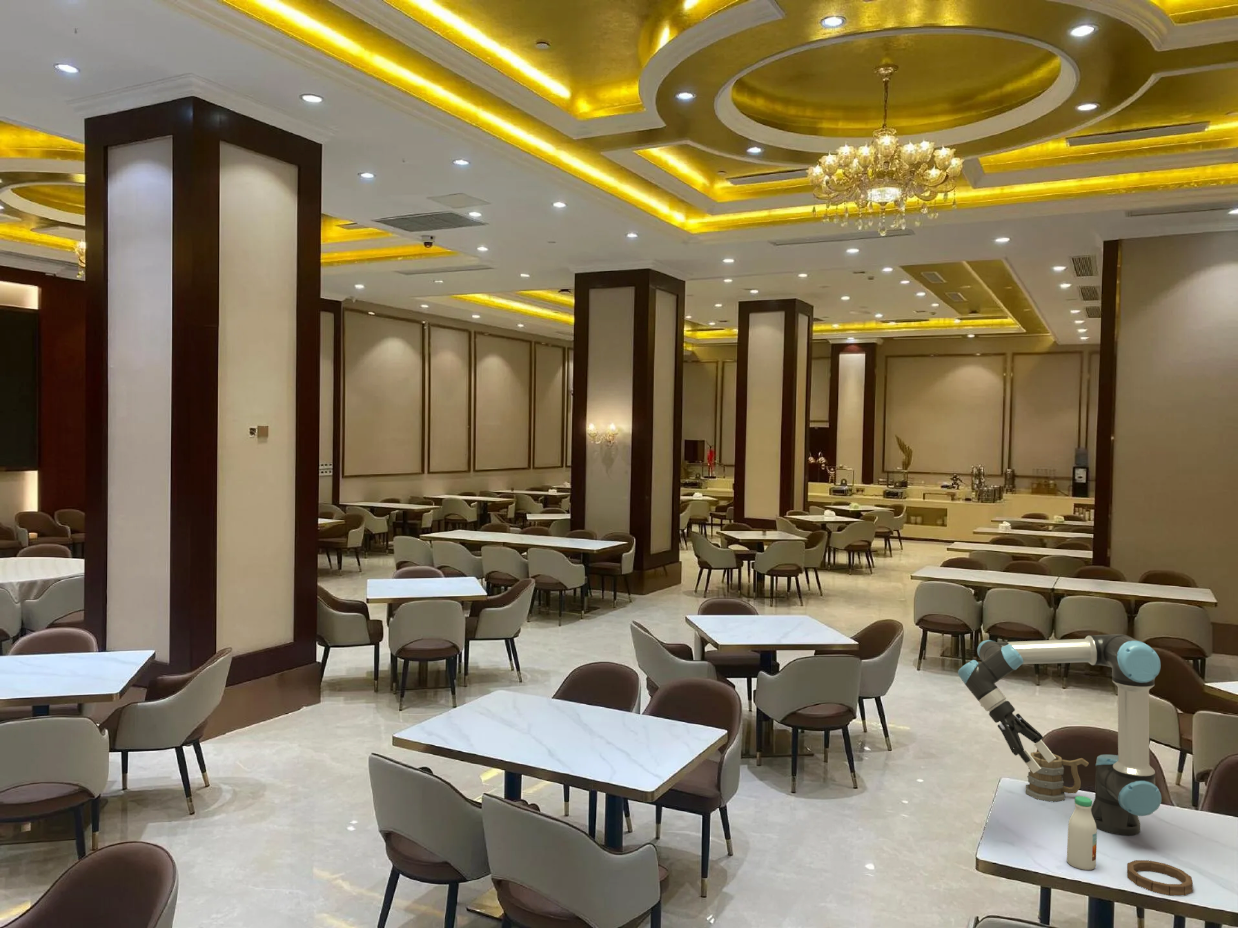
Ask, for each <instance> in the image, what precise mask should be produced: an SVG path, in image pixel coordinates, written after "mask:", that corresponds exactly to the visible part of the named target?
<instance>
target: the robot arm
mask: <svg viewBox="0 0 1238 928" xmlns="http://www.w3.org/2000/svg"><path fill="white" fill-rule="evenodd" d="M976 651H977V656H978V657H979V658H980V662H978V661H977V660H975V659H972V660H970V661H969V662H966V663H965V664H964V665H962V666H961V667H960V668H959V669H958V670H957V676H958V677H959V678H960V679H961V681H962V683H963V684H964V685H965V686H966V687H967V689H968V690H969V691H970V692H971V694H972V695H973V696H974V698H976V700H977V701H978V702H979V704H980V707H982V708H983V709H984V710H985V711H986V712H988V715H989V716H990V718H991V719H992V721H994V723H996V724H997V723H998V724H997V727H998V729H999V731H1000V732H1001V733H1002V735H1003V737H1004V739H1005V741H1006V743H1007V746H1008V747H1009V749H1010V751H1011V752H1012V754H1013V755H1014V756H1016V757H1017V756H1019V757H1020V758H1021V759H1022V761H1023V762H1024V763H1025V765H1026V767H1028V770H1029V771H1030V770H1031V771H1032V772H1033V773H1035V772H1036V771H1038V770H1040V769H1041V768H1040V766H1039V765H1038V764H1037V763H1036V761H1035V760H1034V759H1033V757H1032V756H1031V753H1030V752H1029V751H1028V749H1025V748H1024V746H1023V743H1022V740H1021V737H1020V735H1019V734H1021V735H1023V736H1024V737H1025V738H1027V739H1028V740H1029V741H1031V742H1032V743H1034V744H1033V745H1034V746H1035V748H1036V750H1037V751H1038V752H1040V753H1041V754H1042V755H1043V757H1044V758H1045V759H1046V760H1047V762H1048V763H1049V762H1051V761H1052V760H1054V759H1055V758H1056V757H1055V756H1054V755H1053V754H1054V753H1052V751H1051V750H1050V749H1049V747H1048V746H1047V745H1046V744H1045V742H1044V741H1043V739H1044V736H1043V735H1042V733H1040V732H1039V731H1038V730H1037V729H1036V728H1034V727H1033V726H1032V725H1031V724H1030V723H1029V722H1028V721H1026V720H1025V719H1024V718H1023V717H1022V715H1021V714H1020V713H1016V714H1014V712H1015V711H1016V708H1015V707H1014V706H1013V705H1012V703H1011V702H1010V701H1009V700H1007V697H1006V696H1005V695H1004V693H1003V692H1002V691H1001V690H1000V689H999V687H998V686H997V685H996V683H997V682H999V681H1000V680H1002V679H1003V678H1005V677H1007V676H1008V675H1010V674H1011V673H1012V672H1014V671H1017V669H1018V668H1019V667H1021V666H1022V665H1033V664H1034V665H1035V664H1036V665H1037V664H1038V665H1039V664H1040V665H1041V664H1042V665H1043V664H1069V663H1071V664H1072V663H1088V664H1090V665H1091V666H1105V667H1108V668H1111V671H1112V672H1111V678H1112V679H1111V680H1112V683H1113V684H1114V685H1115V686H1117V748H1118V749H1117V753H1118V754H1100V755H1098V756H1097V757H1096V763H1095V783H1094V784H1095V789H1094V790H1095V793H1094V800H1093V801H1092V808H1091V812H1092V816H1093V818H1094V820H1095V823H1096V828H1097V829H1098V830H1101V831H1103V832H1107V833H1110V834H1116V835H1121V836H1133V835H1134V836H1135V835H1138V834H1140V832H1141V822H1140V819H1139V817H1144V816H1149V815H1151V814H1153V813H1154V812H1156V811H1158V809H1159V808H1160V806H1161V803H1162V793H1161V792H1160V789H1159V788H1158V786H1157V785H1156V771H1155V769H1154V768H1153V767H1152V766H1151V765H1150V689H1152V688H1153V687H1155V679H1156V677H1157V676H1158V675H1159V674H1160V672H1161V659H1160V657H1159V655H1158V653H1157V651H1156V650H1155V649H1154V648H1152V647H1151V646H1150V645H1149V644H1146V643H1145V642H1143V641H1141V640H1138V639H1135V638H1133V637H1132V636H1129V635H1126V634H1123V633H1122V634H1120V633H1117V634H1116V633H1114V634H1113V633H1111V634H1097V635H1087V636H1086V637H1085V638H1078V639H1077V638H1075V639H1052V640H1051V639H1049V640H1045V639H1044V640H1027V641H1026V640H1025V641H1023V640H1022V641H1021V640H1020V641H999V642H998V641H997V642H996V641H995V640H991V639H986V640H983V641H981V642H980V643H979V644H978V646H977V649H976ZM999 722H1000V723H999Z"/></svg>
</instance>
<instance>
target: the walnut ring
mask: <svg viewBox="0 0 1238 928" xmlns="http://www.w3.org/2000/svg"><path fill="white" fill-rule="evenodd" d="M1138 872H1153V873H1154V872H1155V873H1159V874H1162V875H1163V874H1164V875H1166V876H1169V877H1171V878H1174V879H1175V880H1178V881H1179V882H1180V883H1165V882H1161V881H1156V880H1152V879H1150V878H1147V877H1145V876H1143V875H1141V874H1140V873H1138ZM1126 878H1127V879H1128V880H1130V881H1131V882H1132V883H1133V884H1135V885H1137V886H1138V887H1140V886H1141V887H1140V888H1142V887H1143V889H1145V888H1146V889H1145V890H1147V889H1148V890H1147V891H1149V890H1150V892H1152V891H1153V893H1156V892H1157V894H1162V895H1165V894H1166V896H1174V895H1184V896H1187V895H1190V894H1191V893H1193V889H1194V887H1193V885H1194V884H1193V883H1194V881H1193V879H1192V876H1191V875H1189V874H1188V872H1187V873H1186V872H1185V871H1184V870H1183V869H1180V868H1178V867H1175V866H1172V865H1170V864H1167V863H1163V862H1160V861H1159V862H1158V861H1155V860H1150V859H1148V860H1147V859H1146V860H1145V859H1143V860H1142V859H1138V860H1137V859H1136V860H1135V859H1134V860H1132V861H1130V862H1128V863H1127V864H1126ZM1186 894H1187V895H1186Z"/></svg>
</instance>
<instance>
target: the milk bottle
mask: <svg viewBox="0 0 1238 928" xmlns="http://www.w3.org/2000/svg"><path fill="white" fill-rule="evenodd" d="M1074 805H1075V808H1074V810H1073V812H1072V814H1071V816H1070V818H1069V821H1068V825H1067V826H1068V827H1067V846H1066V847H1067V848H1066V861H1067V864H1069V865H1070V866H1071V867H1073V868H1076V869H1079V870H1084V871H1092V870H1094V869H1096V865H1097V846H1098V845H1097V843H1098V842H1097V839H1098V831H1097V829H1098V828H1096V823H1095V820H1094V818H1093V816H1092V812H1091V808H1092V805H1093V800H1092V799H1091V798H1089V797H1087V796H1082V795H1081V796H1080V795H1078V796H1077V795H1076V796H1075V797H1074Z"/></svg>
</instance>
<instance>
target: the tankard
mask: <svg viewBox="0 0 1238 928" xmlns="http://www.w3.org/2000/svg"><path fill="white" fill-rule="evenodd" d="M1052 754H1053V755H1054V756H1055V757H1056V758H1055V759H1054V760H1052V761H1051V762H1049V763H1048V762H1047V760H1046V759H1045V758H1044V757H1043V755H1042V754H1041V753H1040V752H1039V751H1034V752H1030V755H1031V756H1032V757H1033V759H1034V760H1035V761H1036V763H1037V764H1038V765H1039V766H1040V768H1041V769H1040V770H1038V771H1036V772H1035V773H1033V772H1032V771H1031V770H1030V769H1029V771H1028V772H1027V773H1028V774H1027V784H1025V794H1026V795H1027V796H1030V797H1031V798H1034V799H1036V800H1038V799H1039V800H1040V801H1044V800H1045V802H1050V801H1053V802H1052V803H1055V802H1054V801H1056V802H1061V801H1062V800H1063V801H1065V799H1066V795H1065V794H1077V793H1078V791H1079V790H1080V789H1081V786H1082V785H1081V782H1082V781H1081V778H1080V776H1079V773H1078V772H1079V771H1078V766H1079V765H1080V766H1081V765H1082V766H1084V768H1085V767H1088V765H1089V762H1088V761H1087V760H1086V759H1084V758H1082V757H1081V758H1077V759H1073V760H1067V759H1063V758H1062V757H1061V756H1059V755H1057V754H1055V753H1052ZM1064 766H1066V767H1068V766H1069V767H1070V773H1071V776H1072V779H1073V785H1072V786H1069V787H1068V786H1065V785H1064V783H1065V782H1064V778H1063V776H1062V775H1064V771H1065V768H1064ZM1028 783H1029V784H1028ZM1039 800H1038V801H1039ZM1063 801H1062V802H1063Z"/></svg>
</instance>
